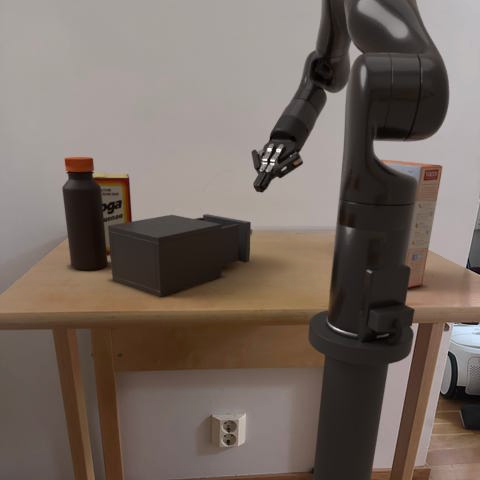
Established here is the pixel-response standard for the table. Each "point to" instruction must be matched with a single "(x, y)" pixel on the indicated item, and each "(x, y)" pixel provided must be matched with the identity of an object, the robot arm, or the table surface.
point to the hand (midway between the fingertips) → (257, 189)
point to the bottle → (84, 215)
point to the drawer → (232, 238)
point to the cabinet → (165, 253)
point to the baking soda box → (114, 200)
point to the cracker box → (420, 214)
